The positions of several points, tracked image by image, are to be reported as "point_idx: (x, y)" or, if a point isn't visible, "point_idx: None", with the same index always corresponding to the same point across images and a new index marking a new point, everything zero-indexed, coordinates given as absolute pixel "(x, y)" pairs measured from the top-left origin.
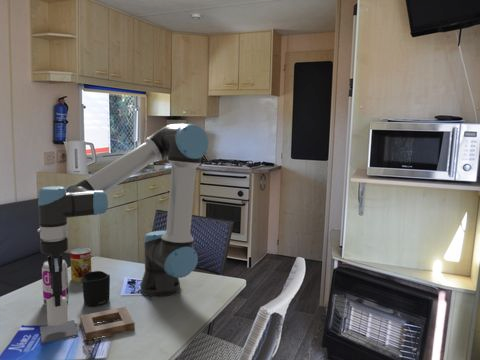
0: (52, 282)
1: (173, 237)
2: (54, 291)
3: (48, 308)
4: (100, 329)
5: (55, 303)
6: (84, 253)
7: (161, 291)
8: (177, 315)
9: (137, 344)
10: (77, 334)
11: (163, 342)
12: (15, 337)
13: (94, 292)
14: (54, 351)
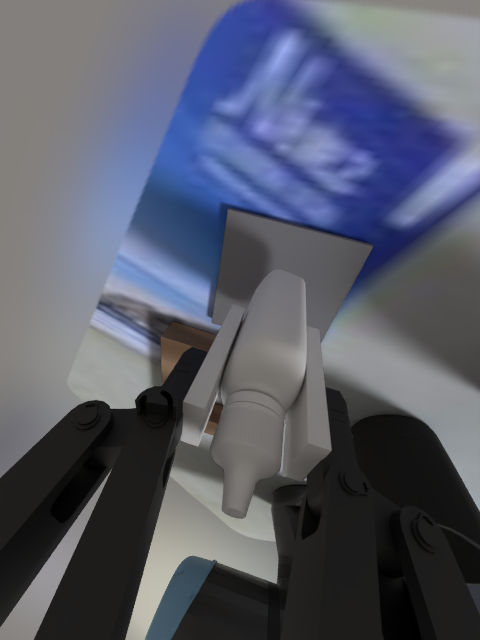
0: (48, 609)
1: None
2: (32, 458)
3: (256, 317)
4: (164, 367)
5: (176, 363)
6: None
7: (277, 502)
8: (188, 457)
9: (114, 377)
10: (212, 321)
11: (107, 401)
12: (390, 101)
13: (367, 473)
14: (154, 231)
